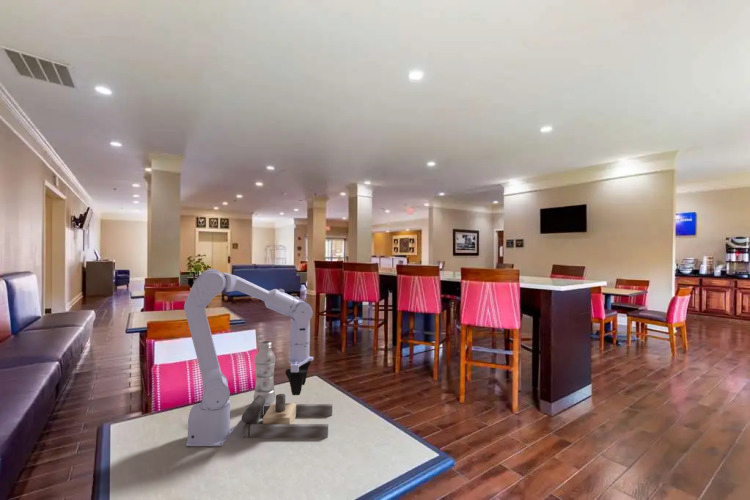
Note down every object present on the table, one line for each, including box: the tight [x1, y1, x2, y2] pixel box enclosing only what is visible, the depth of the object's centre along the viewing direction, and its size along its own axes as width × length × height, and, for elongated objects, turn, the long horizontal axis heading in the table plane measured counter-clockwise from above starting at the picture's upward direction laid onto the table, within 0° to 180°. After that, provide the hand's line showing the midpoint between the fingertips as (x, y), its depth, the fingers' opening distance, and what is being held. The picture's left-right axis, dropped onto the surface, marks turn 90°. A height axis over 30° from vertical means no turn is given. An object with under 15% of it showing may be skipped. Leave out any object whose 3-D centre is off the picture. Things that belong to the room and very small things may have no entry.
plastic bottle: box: [253, 340, 277, 406], centre depth 112 cm, size 6×7×20 cm
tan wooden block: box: [262, 393, 297, 424], centre depth 96 cm, size 7×9×8 cm
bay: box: [241, 395, 333, 439], centre depth 96 cm, size 23×14×7 cm, turn 92°
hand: (298, 389), depth 101 cm, fingers open, 7 cm apart
